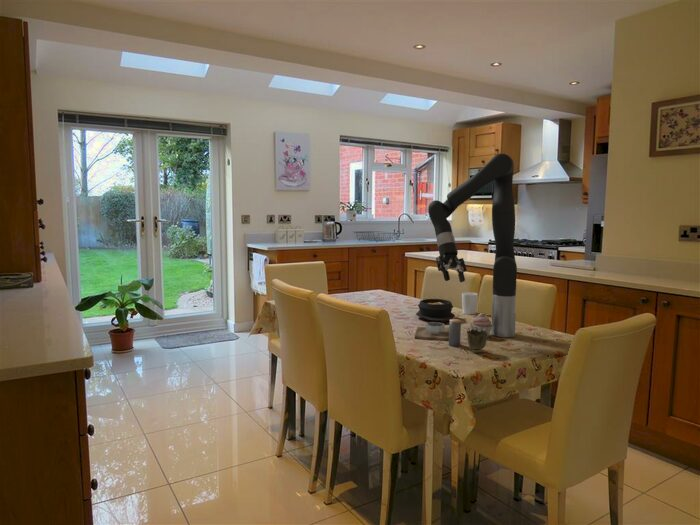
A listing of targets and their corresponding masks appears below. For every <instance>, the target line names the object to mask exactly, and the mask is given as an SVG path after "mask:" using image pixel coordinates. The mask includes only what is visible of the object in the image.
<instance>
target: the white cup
mask: <svg viewBox="0 0 700 525" xmlns="http://www.w3.org/2000/svg"><path fill="white" fill-rule="evenodd" d="M478 295H479V294H478V292H477V293H476V292H468V291H466V292H461V306H462V310H461V311H462V314H463V315H464V314H465V315H476V314H477V308H478V299H479V298H478Z"/></svg>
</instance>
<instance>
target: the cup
mask: <svg viewBox="0 0 700 525" xmlns="http://www.w3.org/2000/svg"><path fill="white" fill-rule="evenodd" d="M487 334H488V332H487V333H486V331H483V330H481V331H479V332H478V330H477V329H476V330H473V329H472V328H471V330H470V329H468V330H466V336H467V337H466V338H467V343H468V346H469V347H470V348H471V352H472V353H473V354H481V353H482V352H483V350H482V349H484V348H485V347H486V344H487V340H488V337H487Z"/></svg>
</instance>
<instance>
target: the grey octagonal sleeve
mask: <svg viewBox="0 0 700 525" xmlns="http://www.w3.org/2000/svg"><path fill="white" fill-rule="evenodd" d="M425 327H426V333H428V334H431V335H441V334H444V328H446V327H445V323H443V322H440V321H431V322H426V324H425Z"/></svg>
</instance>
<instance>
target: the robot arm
mask: <svg viewBox="0 0 700 525" xmlns="http://www.w3.org/2000/svg"><path fill="white" fill-rule="evenodd" d="M514 168H515V164H514V160H513V158H512V157H511V156H510V155H508V154H506V153H497V154H495V155H494V156H492V157H491V159H490V160H489V161H488V162H487V163H486V164H485V165H484V166H483V167H482V168H481V169H480V170H478V171H477V172H476V173H475V174H473V175H472V176H471V177H470V178H468V179H467V180H465V181H463V182H462V183H461V184H459V185H458V186H456V187H455V188H453V189H452V190H451V191H450V192H448V193H447V195H446V199H445V201H443V202H442V201H440V200H437V199H436V200H432V201H431V202H430V203H429V204H428V209H427V211H428V215H429V218H430V220H431V223H432V226H433V228H434V232H435V236H436V237H435V238H436V244H437V248H438V252H439V253H438V254H439V256H437V257H436V258H435V260H436V266H437V270H438V272H441V273H442V275H443V280H444V281H445V282H448V281H450V280H451V278H450V277H451V276H450V274H449V269H453V270H454V271H456V272H457V276H458V279H459V280H458V281H459V282H460V283H464V282H466V281H465V280H466V278H465V274H464V273H465V272H467V267H466V262H465V259H464V258H463V257H462V258H459V257H458V253H459V251H458V248H457V244H456V240H455V236H454V233H453V229H452V225H451V223H450V221H449V220H448V219H447V218H449V217H450V216H451V215H452V214H453V213H454V212H455V211H456V210H457V209H458V207H460V206H461V205H462V204H464V203H466V202H467V201H468V200H470V199H471V198H472V197H473V196H475V194H477V193H478V192H480V190H481V189H482V188H484V187H485V186H486V185H489V183H492V182H493V197H492V204H491V206H492V207H491V224H492V225H491V226H492V232H493V237H494V242H495V243H494V244H495V255H494V256H495V257H494V263H493V269H492V301H491V302H492V303H491V304H492V306H491V307H492V308H491V325H492V326H493V327H492V329H491V331H490V334H491V335H492V336H495V337H499V338H512V337H513V338H515V337H516V320H517V319H516V317H517V315H516V297H517V296H516V294H517V278H518V276H517V275H518V274H517V272H518V266H517V261H516V255H515V247H514V241H515V235H516V234H515V233H516V208H515V205H516V204H515V198H514V190H513V181H514V179H513V178H514Z"/></svg>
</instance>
